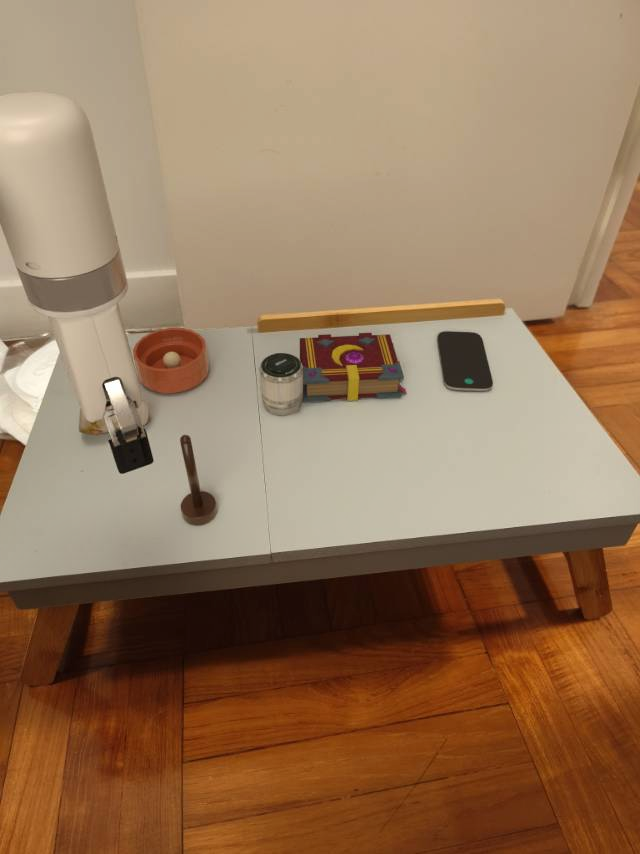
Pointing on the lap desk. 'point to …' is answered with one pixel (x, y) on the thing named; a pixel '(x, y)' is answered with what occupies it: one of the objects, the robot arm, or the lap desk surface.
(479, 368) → the smartphone
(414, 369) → the lap desk surface
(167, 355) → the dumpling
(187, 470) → the round knob peg
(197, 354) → the bowl
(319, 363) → the decorative book
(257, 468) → the lap desk surface
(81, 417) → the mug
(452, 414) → the lap desk surface
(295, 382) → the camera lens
